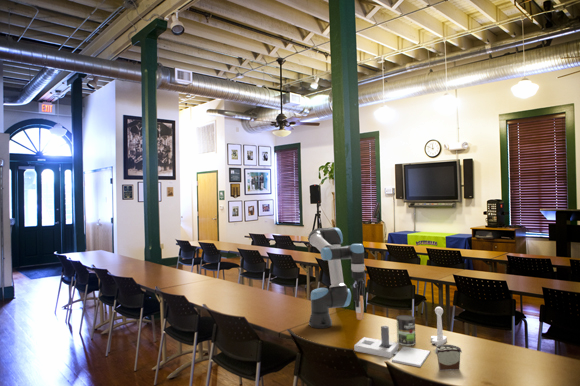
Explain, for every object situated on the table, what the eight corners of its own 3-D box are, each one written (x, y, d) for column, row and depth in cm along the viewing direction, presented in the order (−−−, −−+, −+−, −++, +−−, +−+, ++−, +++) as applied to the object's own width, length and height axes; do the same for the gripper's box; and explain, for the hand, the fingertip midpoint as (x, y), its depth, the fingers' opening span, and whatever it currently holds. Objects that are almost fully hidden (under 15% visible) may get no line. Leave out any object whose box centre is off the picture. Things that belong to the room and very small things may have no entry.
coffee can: (419, 344, 216) (418, 319, 216) (403, 346, 213) (402, 321, 214) (409, 338, 226) (408, 314, 226) (393, 340, 223) (392, 316, 224)
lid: (388, 360, 196) (387, 358, 196) (399, 347, 213) (399, 345, 213) (420, 367, 187) (420, 365, 187) (430, 352, 204) (430, 350, 204)
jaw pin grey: (380, 352, 207) (379, 327, 207) (383, 349, 211) (382, 325, 211) (388, 353, 205) (387, 328, 205) (390, 350, 208) (389, 326, 209)
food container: (456, 364, 190) (455, 343, 190) (462, 369, 183) (461, 348, 184) (431, 365, 189) (430, 344, 189) (436, 370, 183) (436, 349, 183)
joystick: (439, 346, 213) (437, 309, 213) (426, 342, 218) (425, 307, 219) (448, 340, 220) (447, 305, 220) (436, 337, 226) (434, 303, 226)
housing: (354, 350, 210) (354, 345, 210) (364, 342, 222) (364, 337, 222) (390, 357, 199) (390, 352, 199) (398, 348, 211) (398, 343, 211)
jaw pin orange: (355, 319, 223) (354, 296, 223) (358, 317, 226) (357, 294, 226) (362, 320, 220) (361, 297, 221) (364, 318, 224) (363, 295, 224)
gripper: (358, 273, 215) (360, 316, 214) (369, 268, 229) (371, 308, 228) (346, 272, 219) (347, 314, 218) (357, 268, 233) (359, 307, 232)
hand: (359, 311), depth 223 cm, fingers closed on jaw pin orange, 4 cm apart
